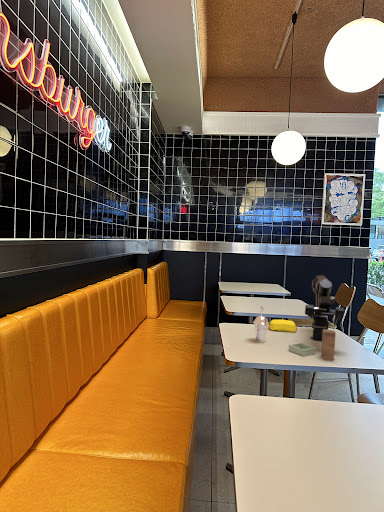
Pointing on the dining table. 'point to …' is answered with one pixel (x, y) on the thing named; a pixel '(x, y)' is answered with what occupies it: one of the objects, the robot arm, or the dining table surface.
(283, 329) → the yellow rounded block
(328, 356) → the walnut block
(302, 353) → the green holder
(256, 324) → the cup with straw
